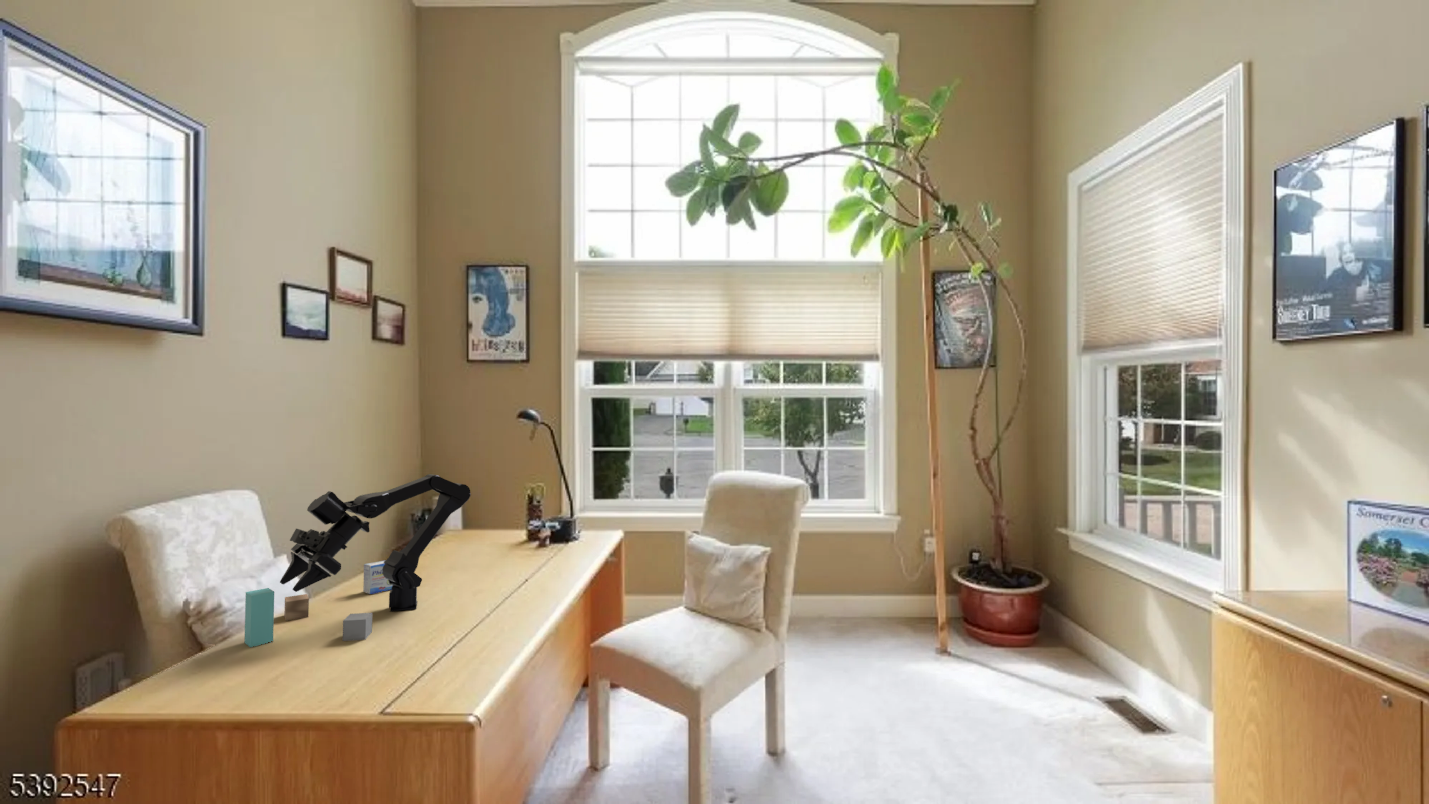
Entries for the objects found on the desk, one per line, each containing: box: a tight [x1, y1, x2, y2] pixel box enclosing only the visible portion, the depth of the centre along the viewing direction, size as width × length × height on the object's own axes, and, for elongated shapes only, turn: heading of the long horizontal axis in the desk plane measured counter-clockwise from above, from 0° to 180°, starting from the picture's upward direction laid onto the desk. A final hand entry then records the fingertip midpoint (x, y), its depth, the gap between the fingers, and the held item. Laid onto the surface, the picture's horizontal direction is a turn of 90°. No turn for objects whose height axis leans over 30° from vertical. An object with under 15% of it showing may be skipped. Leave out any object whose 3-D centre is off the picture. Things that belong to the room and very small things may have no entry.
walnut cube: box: [283, 593, 310, 621], centre depth 164 cm, size 5×5×5 cm
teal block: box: [244, 587, 275, 648], centre depth 145 cm, size 4×4×12 cm
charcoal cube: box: [342, 612, 373, 642], centre depth 150 cm, size 5×5×5 cm
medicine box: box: [363, 559, 393, 595], centre depth 187 cm, size 8×4×9 cm, turn 143°
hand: (287, 587), depth 150 cm, fingers open, 9 cm apart
